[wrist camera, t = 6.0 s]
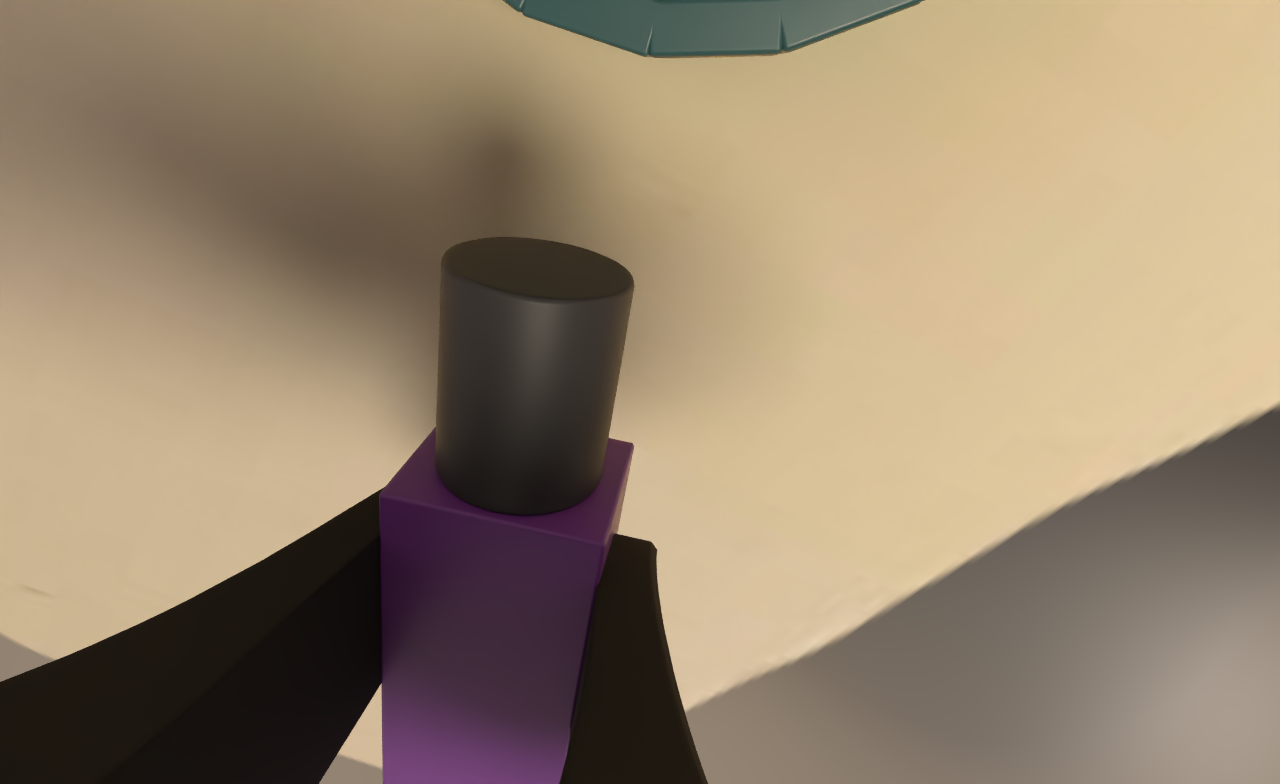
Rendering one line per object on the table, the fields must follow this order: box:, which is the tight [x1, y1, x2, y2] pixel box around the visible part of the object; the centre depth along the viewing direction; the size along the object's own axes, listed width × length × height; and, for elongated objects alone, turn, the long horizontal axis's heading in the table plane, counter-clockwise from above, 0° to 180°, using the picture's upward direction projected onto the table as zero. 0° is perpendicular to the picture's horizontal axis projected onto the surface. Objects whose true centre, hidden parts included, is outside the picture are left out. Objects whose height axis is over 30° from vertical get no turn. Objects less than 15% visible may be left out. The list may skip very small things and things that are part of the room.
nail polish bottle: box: [379, 237, 634, 784], centre depth 10 cm, size 10×3×2 cm, turn 170°
